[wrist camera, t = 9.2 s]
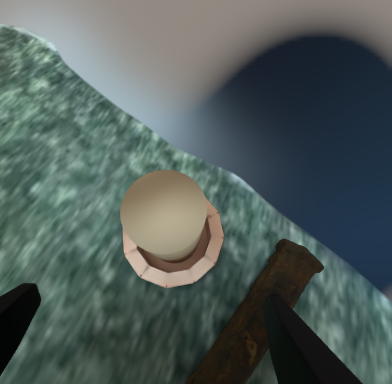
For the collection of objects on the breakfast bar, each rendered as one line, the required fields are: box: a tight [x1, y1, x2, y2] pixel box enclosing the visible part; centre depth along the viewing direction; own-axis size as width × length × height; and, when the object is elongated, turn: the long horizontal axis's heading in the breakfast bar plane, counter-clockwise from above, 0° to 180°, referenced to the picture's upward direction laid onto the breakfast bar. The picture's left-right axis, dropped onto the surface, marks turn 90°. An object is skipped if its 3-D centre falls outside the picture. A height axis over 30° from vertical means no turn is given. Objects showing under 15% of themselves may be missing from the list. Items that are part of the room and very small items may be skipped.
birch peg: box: [120, 170, 207, 263], centre depth 16 cm, size 4×4×10 cm
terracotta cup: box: [123, 198, 224, 288], centre depth 19 cm, size 8×8×4 cm
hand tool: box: [185, 239, 324, 384], centre depth 17 cm, size 19×4×5 cm, turn 137°
